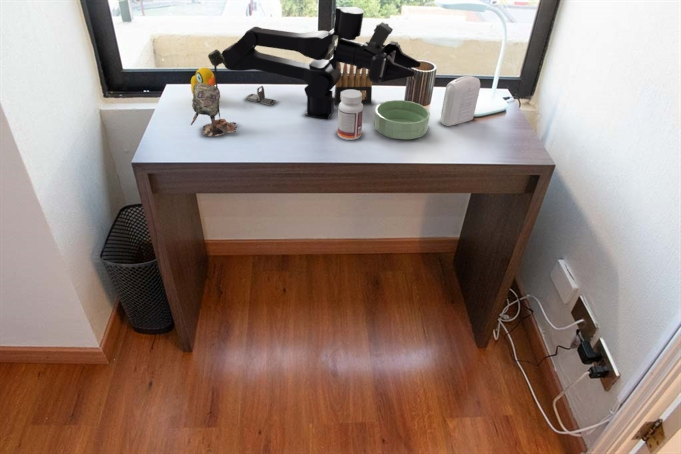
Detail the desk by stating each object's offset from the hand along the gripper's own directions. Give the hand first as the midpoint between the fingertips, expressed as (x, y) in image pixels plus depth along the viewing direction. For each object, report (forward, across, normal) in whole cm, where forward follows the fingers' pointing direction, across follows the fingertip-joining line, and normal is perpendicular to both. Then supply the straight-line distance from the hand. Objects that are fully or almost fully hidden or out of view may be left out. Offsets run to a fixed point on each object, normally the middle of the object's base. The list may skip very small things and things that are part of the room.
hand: (417, 69), depth 125 cm
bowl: (-1, +1, +16) cm, 16 cm away
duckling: (-55, -3, +22) cm, 60 cm away
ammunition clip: (-17, +12, +17) cm, 27 cm away
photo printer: (+13, +11, +14) cm, 22 cm away
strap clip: (-42, +3, +20) cm, 46 cm away
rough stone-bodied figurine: (-45, -18, +22) cm, 53 cm away
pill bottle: (-12, -8, +18) cm, 23 cm away
